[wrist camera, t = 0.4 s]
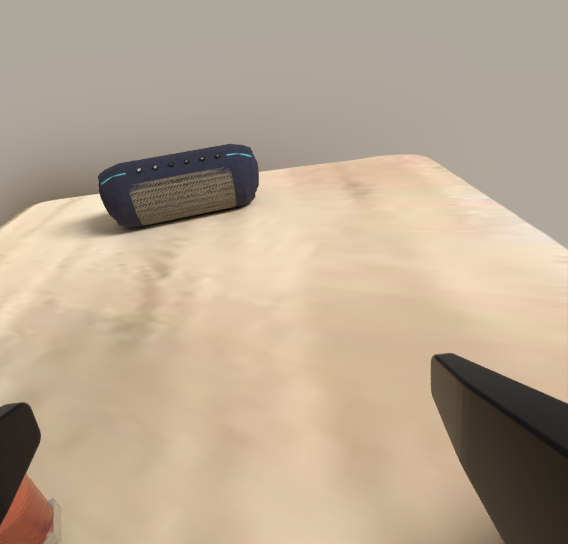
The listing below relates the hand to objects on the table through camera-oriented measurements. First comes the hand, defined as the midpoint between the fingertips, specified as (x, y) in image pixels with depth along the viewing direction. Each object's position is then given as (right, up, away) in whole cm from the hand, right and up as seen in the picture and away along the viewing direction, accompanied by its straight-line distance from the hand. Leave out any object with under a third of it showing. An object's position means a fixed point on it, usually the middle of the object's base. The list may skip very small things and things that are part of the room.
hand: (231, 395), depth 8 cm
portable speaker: (-14, +12, +56) cm, 59 cm away
